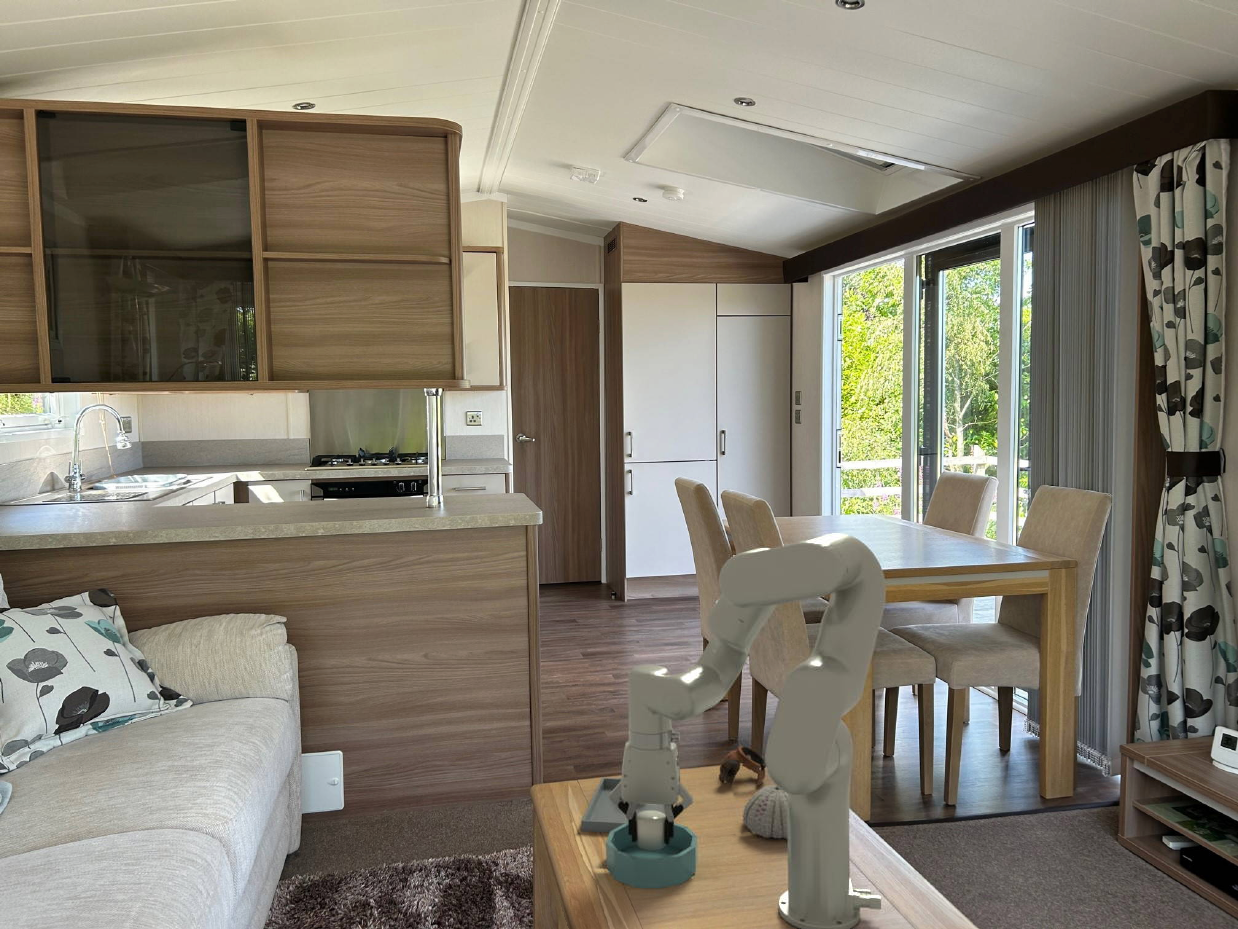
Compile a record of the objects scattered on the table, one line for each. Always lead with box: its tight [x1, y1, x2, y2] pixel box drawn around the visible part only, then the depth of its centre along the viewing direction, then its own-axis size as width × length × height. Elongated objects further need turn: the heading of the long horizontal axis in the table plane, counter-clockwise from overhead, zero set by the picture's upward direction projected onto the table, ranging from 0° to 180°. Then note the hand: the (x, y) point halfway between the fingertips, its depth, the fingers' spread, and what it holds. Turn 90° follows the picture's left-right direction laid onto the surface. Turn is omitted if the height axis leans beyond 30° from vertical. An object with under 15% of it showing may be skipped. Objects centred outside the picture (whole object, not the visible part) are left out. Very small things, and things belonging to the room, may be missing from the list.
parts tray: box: [580, 777, 666, 833], centre depth 181 cm, size 16×22×2 cm
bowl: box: [605, 822, 699, 890], centre depth 158 cm, size 16×16×5 cm
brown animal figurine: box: [718, 745, 767, 786], centre depth 196 cm, size 12×10×8 cm
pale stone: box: [636, 810, 666, 850], centre depth 158 cm, size 5×5×5 cm
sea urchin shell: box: [741, 784, 788, 840], centre depth 173 cm, size 13×14×8 cm
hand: (651, 839), depth 158 cm, fingers closed on pale stone, 5 cm apart
